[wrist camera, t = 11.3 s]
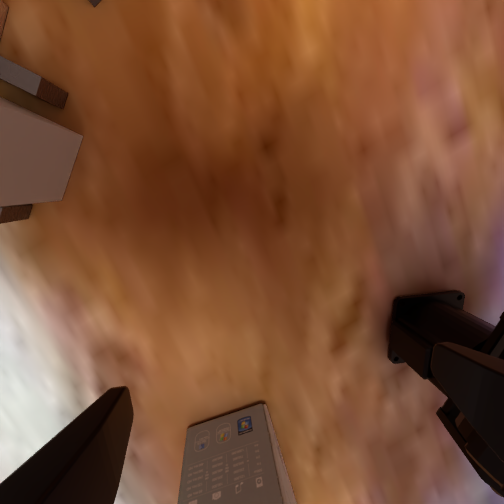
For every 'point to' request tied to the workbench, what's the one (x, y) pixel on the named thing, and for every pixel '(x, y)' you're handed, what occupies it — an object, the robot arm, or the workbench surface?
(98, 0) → the holster
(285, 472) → the hard drive box
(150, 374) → the workbench surface
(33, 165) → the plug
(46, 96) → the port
